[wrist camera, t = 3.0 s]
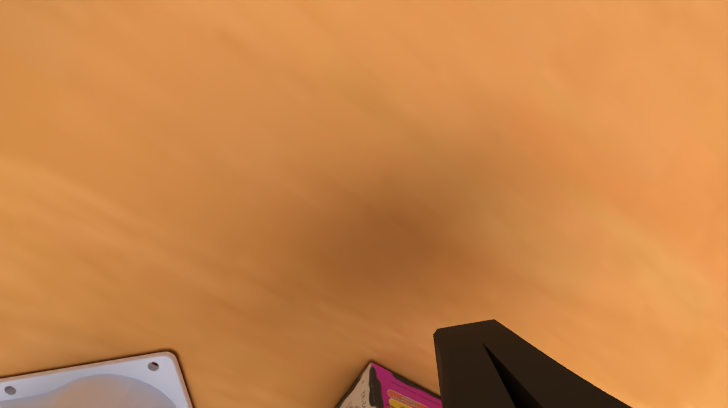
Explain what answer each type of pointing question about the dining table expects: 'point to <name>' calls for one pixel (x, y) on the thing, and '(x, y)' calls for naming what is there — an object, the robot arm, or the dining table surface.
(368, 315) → the dining table surface
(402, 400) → the candy bar box
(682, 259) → the dining table surface
